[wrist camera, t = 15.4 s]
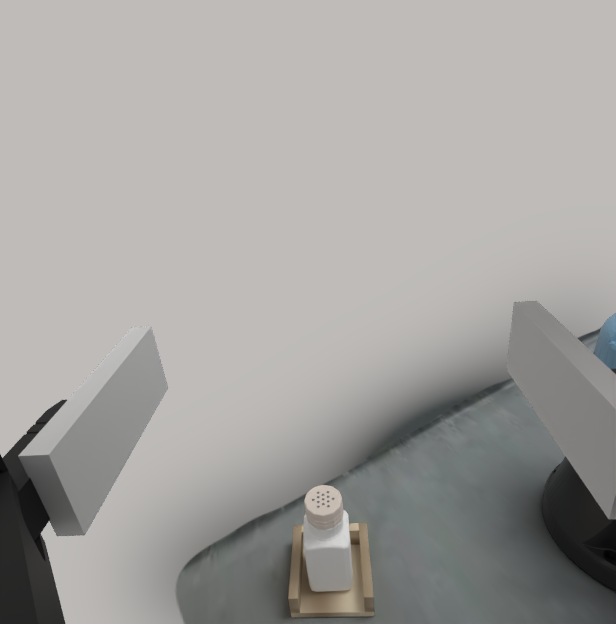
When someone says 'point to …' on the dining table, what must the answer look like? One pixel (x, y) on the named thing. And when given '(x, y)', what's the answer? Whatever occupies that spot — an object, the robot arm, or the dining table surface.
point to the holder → (332, 602)
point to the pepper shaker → (327, 541)
